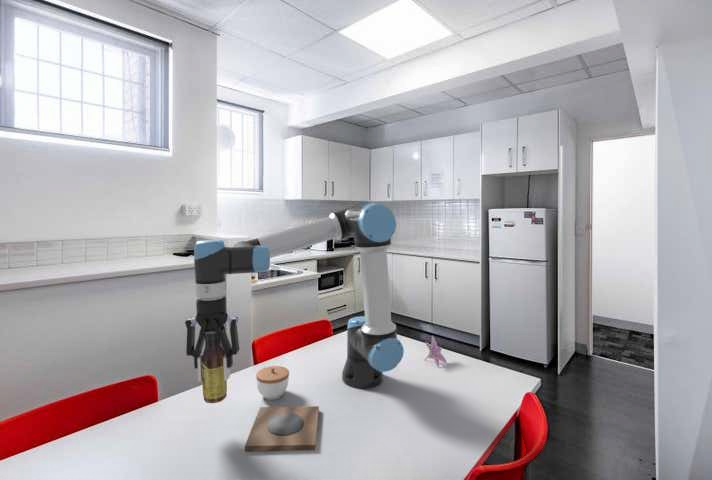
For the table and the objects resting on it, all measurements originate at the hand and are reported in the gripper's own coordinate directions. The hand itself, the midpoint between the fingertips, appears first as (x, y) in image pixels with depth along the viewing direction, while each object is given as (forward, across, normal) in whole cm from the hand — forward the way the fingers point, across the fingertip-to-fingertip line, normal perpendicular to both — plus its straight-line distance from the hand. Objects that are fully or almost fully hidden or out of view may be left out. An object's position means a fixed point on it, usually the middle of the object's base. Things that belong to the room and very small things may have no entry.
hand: (214, 378), depth 98 cm
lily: (+17, +74, +43) cm, 87 cm away
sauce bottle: (+6, 0, 0) cm, 6 cm away
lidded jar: (+16, +12, +19) cm, 27 cm away
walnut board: (+15, +19, 0) cm, 25 cm away
